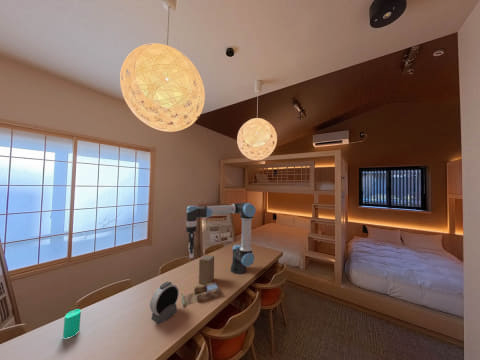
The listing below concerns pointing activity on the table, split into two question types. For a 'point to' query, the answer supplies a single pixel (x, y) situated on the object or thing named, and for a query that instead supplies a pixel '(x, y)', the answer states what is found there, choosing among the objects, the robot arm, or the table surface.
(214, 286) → the block
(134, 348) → the table surface
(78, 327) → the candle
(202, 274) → the wooden block
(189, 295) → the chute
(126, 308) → the table surface
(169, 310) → the alarm clock
